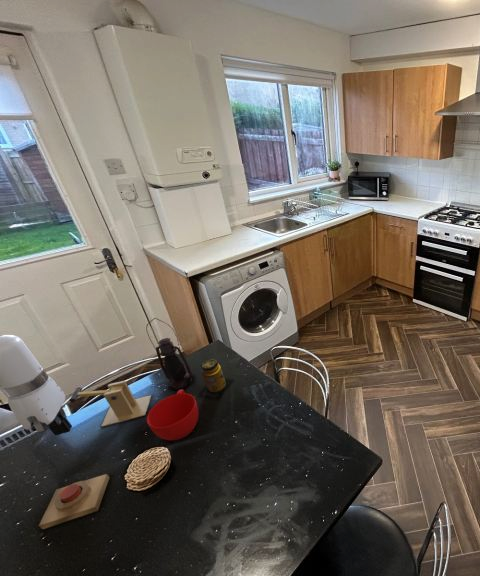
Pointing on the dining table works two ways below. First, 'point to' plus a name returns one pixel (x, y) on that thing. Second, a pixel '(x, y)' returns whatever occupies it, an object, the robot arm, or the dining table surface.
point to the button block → (75, 502)
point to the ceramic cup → (174, 416)
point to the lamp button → (70, 493)
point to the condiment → (213, 375)
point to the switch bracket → (124, 404)
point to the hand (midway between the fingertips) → (64, 431)
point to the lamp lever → (91, 392)
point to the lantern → (173, 363)
